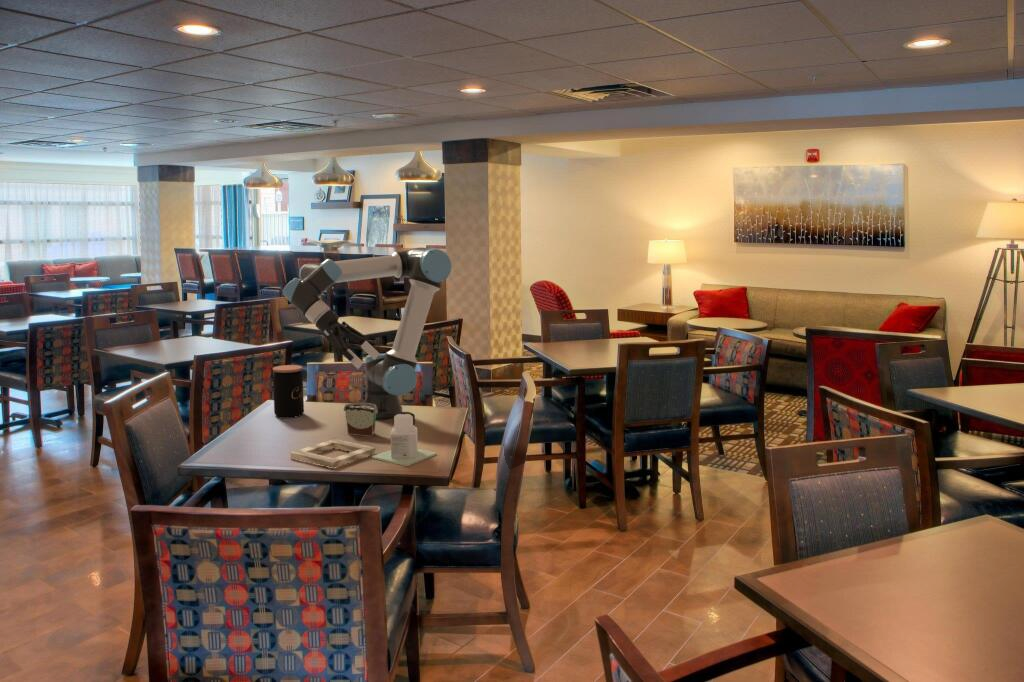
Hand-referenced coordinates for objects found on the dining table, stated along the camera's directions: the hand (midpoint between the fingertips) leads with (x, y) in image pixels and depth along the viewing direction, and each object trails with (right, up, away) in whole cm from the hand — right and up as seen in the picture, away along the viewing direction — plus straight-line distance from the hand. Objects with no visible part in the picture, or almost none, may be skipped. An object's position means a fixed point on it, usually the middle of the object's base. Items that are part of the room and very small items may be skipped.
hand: (369, 361), depth 251 cm
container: (+14, -28, -17) cm, 36 cm away
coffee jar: (-36, -21, +34) cm, 54 cm away
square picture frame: (-8, -29, -17) cm, 34 cm away
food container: (-3, -25, +9) cm, 27 cm away
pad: (+14, -29, -17) cm, 36 cm away
